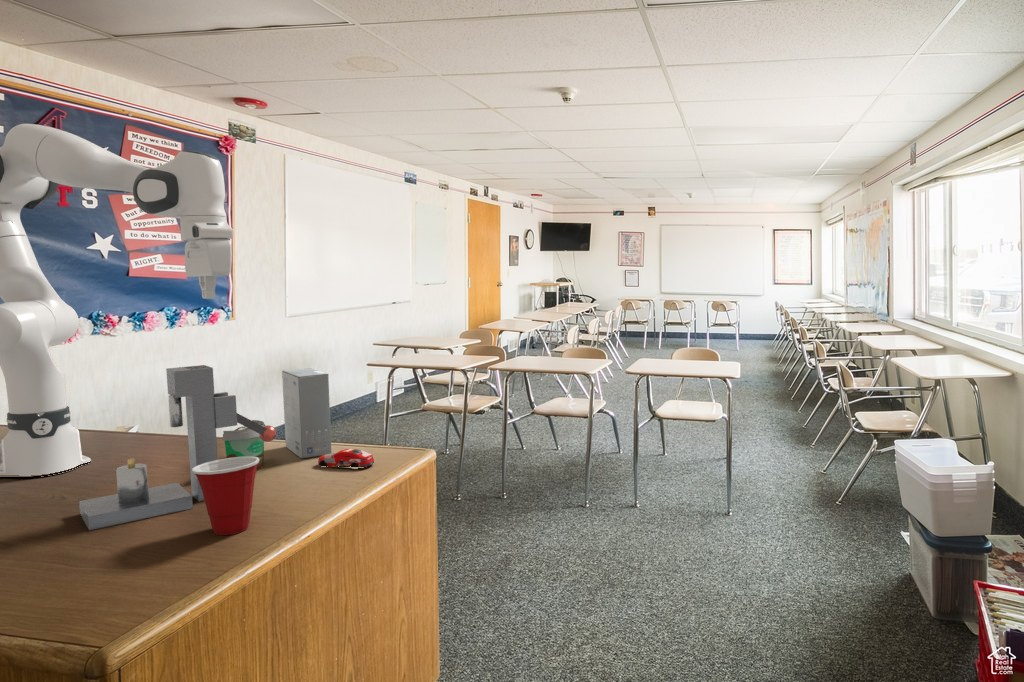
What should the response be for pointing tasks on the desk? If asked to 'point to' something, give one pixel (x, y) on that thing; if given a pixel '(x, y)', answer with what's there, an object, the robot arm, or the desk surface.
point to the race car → (347, 459)
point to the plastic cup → (228, 492)
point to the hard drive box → (307, 412)
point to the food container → (245, 443)
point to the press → (201, 424)
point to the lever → (258, 428)
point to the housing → (132, 482)
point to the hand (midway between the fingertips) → (208, 298)
